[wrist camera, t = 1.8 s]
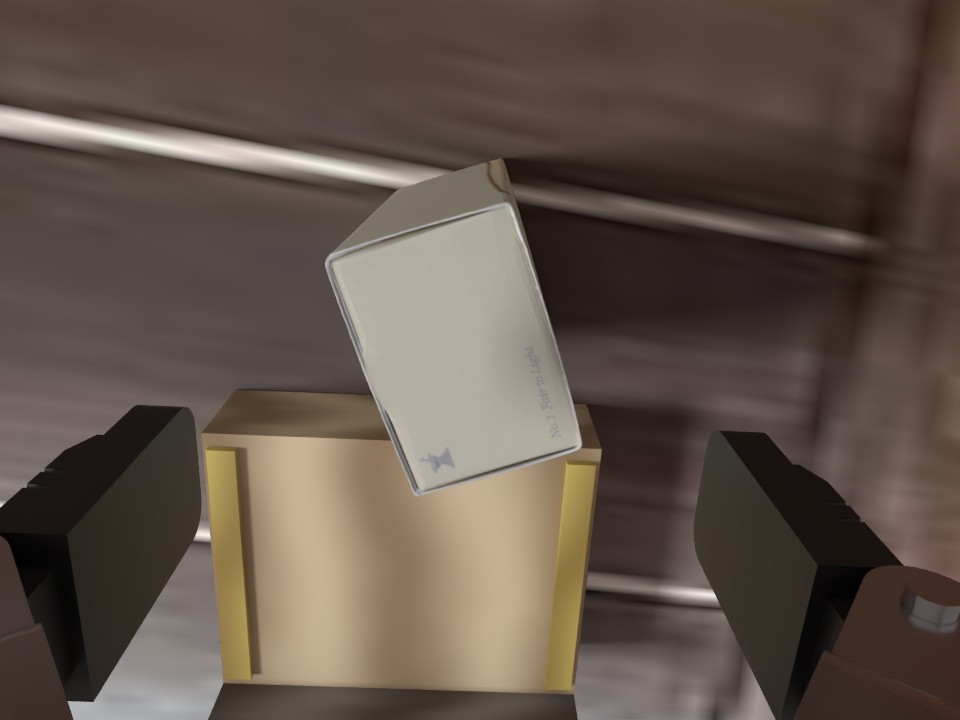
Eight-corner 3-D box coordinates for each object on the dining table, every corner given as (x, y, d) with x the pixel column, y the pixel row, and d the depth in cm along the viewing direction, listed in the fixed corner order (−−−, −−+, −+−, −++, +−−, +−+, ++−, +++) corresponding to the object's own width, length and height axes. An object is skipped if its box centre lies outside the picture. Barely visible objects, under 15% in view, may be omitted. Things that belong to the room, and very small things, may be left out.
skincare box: (547, 311, 29) (596, 458, 17) (438, 343, 29) (414, 508, 18) (500, 149, 27) (520, 194, 15) (383, 186, 27) (316, 258, 16)
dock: (585, 404, 30) (611, 477, 24) (560, 645, 34) (577, 754, 28) (236, 389, 30) (180, 460, 24) (253, 634, 34) (208, 743, 28)
